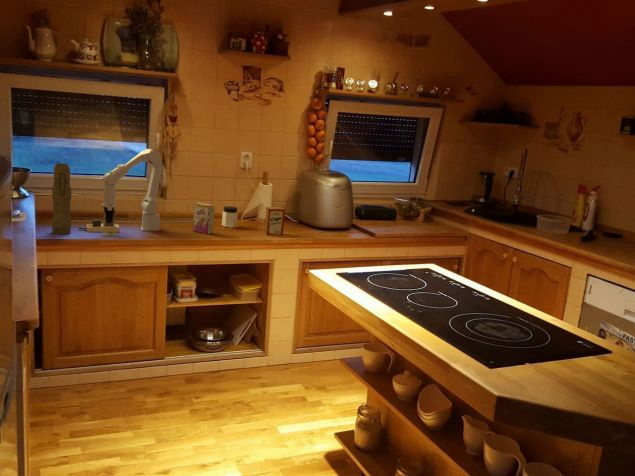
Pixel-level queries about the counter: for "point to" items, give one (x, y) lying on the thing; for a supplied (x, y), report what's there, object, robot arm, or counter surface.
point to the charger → (108, 223)
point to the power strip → (101, 228)
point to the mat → (109, 234)
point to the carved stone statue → (61, 199)
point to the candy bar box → (203, 218)
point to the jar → (229, 216)
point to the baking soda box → (274, 220)
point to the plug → (96, 222)
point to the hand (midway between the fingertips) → (108, 221)
